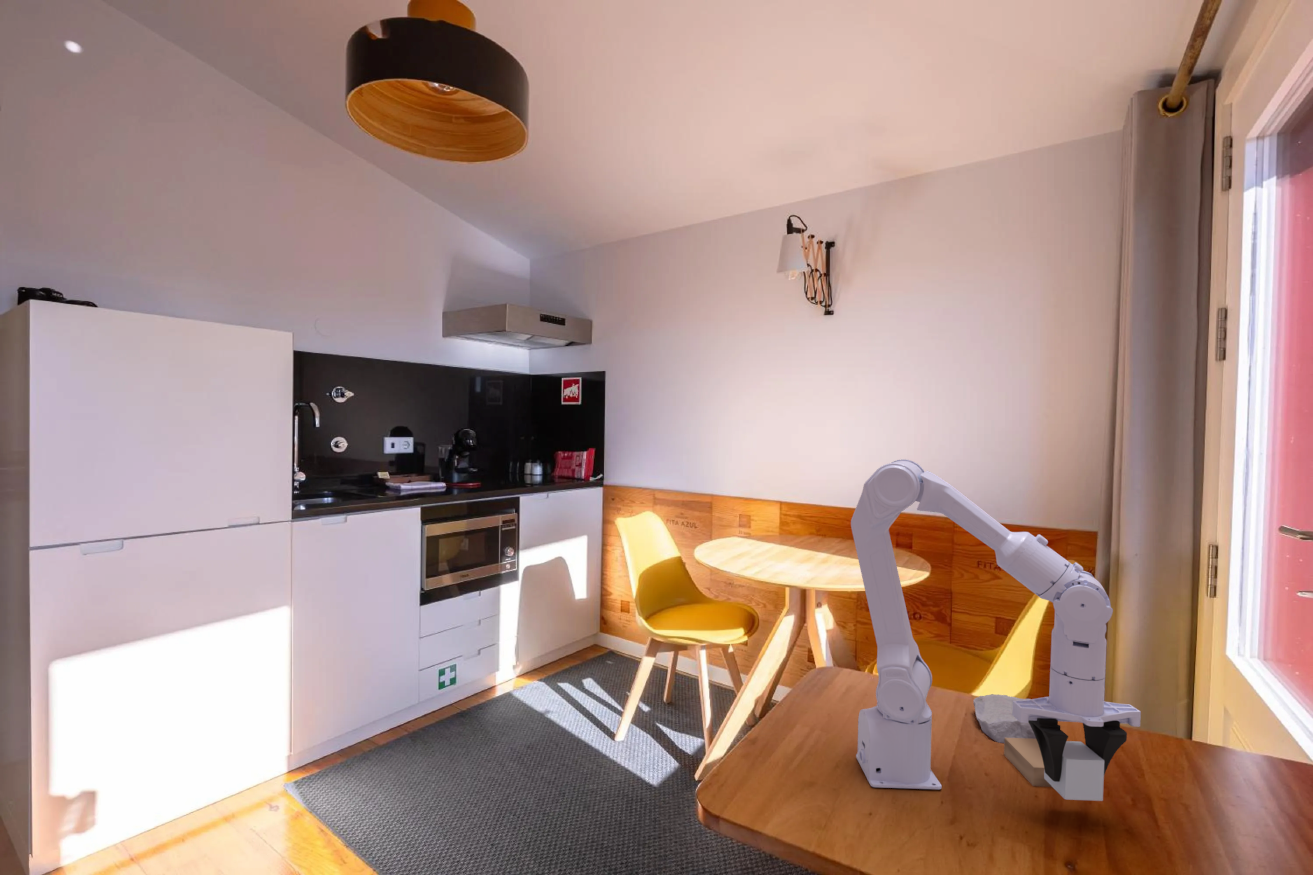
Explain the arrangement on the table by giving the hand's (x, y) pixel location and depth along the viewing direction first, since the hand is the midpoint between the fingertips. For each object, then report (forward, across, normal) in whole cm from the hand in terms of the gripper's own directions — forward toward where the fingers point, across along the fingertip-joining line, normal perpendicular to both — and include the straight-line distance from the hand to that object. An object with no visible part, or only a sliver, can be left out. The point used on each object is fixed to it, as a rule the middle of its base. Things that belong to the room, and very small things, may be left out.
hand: (1072, 777), depth 80 cm
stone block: (+6, +4, +24) cm, 25 cm away
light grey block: (+2, 0, 0) cm, 2 cm away
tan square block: (+6, +3, +11) cm, 13 cm away
